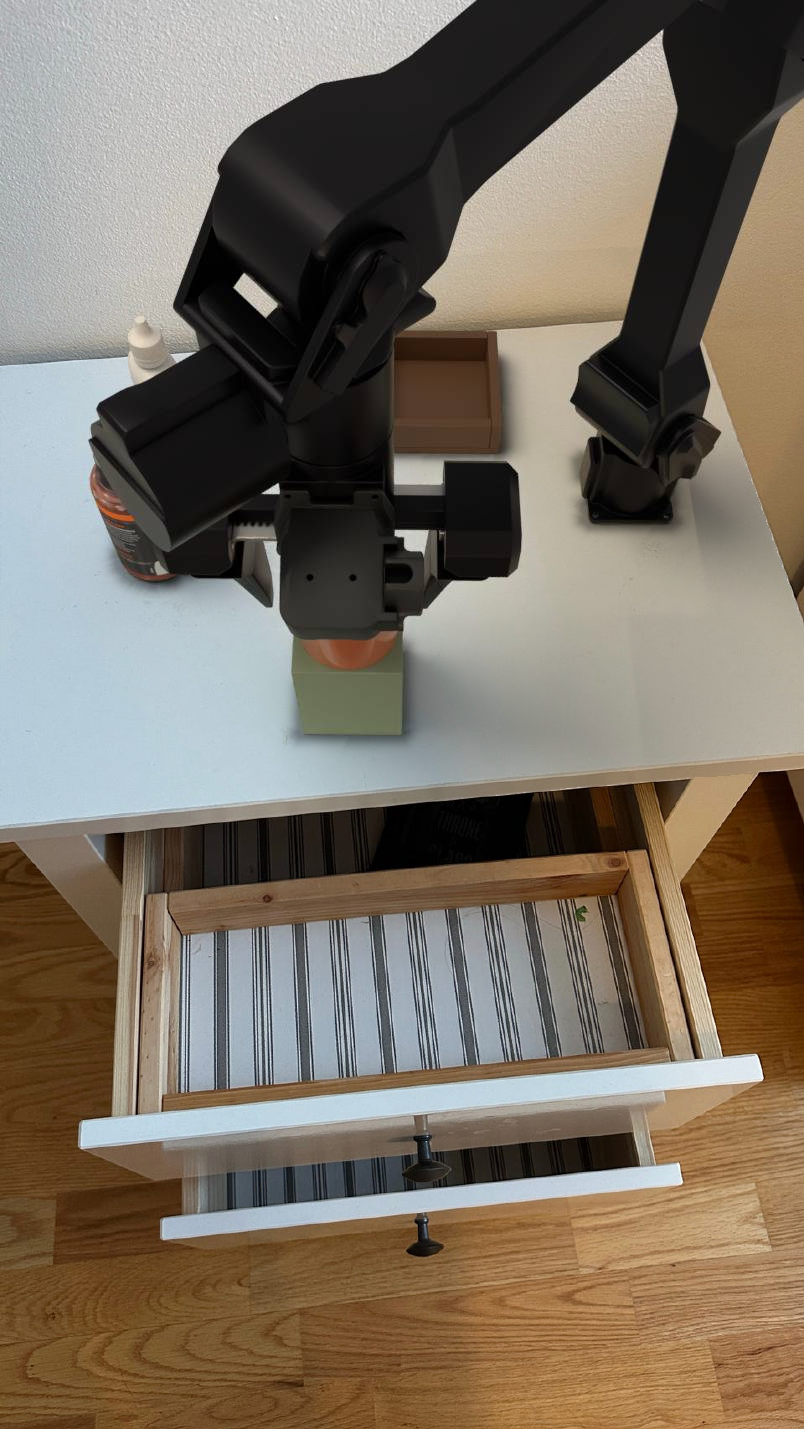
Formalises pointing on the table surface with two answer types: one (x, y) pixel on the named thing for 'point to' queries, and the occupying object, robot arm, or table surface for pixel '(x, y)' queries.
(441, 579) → the robot arm
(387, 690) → the sage green cube
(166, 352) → the eye dropper bottle
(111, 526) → the supplement bottle
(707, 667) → the table surface
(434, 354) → the tray
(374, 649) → the cup
